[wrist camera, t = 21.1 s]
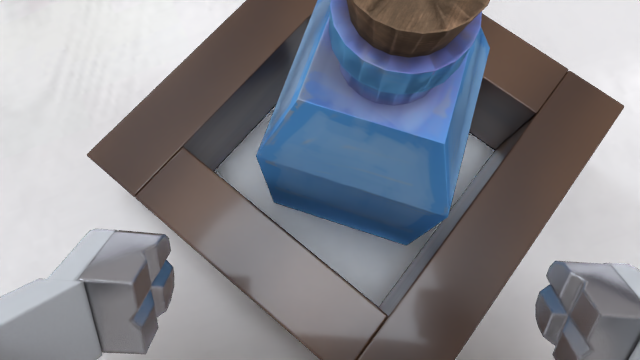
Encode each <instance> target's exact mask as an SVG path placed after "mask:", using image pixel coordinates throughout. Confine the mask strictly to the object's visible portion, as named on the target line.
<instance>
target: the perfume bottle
mask: <svg viewBox="0 0 640 360" xmlns="http://www.w3.org/2000/svg"><path fill="white" fill-rule="evenodd" d="M489 1H490V0H317V3H316V5H315V8H314V10H313V13H312V16H311V18H310V21H309V23H308V26H307V28H306V31H305V33H304V36H303V38H302V41H301V43H300V46H299V49H298V51H297V54H296V56H295V59H294V61H293V64H292V66H291V69H290V71H289V74H288V76H287V79H286V81H285V84H284V87H283V89H282V92H281V94H280V97H279V99H278V102H277V104H276V107H275V109H274V112H273V114H272V117H271V120H270V122H269V125H268V127H267V130H266V132H265V135H264V137H263V140H262V142H261V145H260V147H259V150H258V152H257V155H256V157H257V160H258V162H259V165H260V167H261V170H262V173H263V175H264V178H265V180H266V183H267V185H268V188H269V191H270V193H271V196H272V198H273V201H274V202H275V203H278V204H281V205H284V206H287V207H290V208H293V209H296V210H299V211H302V212H305V213H308V214H312V215H315V216H318V217H321V218H324V219H327V220H330V221H333V222H336V223H339V224H342V225H345V226H348V227H351V228H355V229H358V230H361V231H364V232H367V233H370V234H373V235H376V236H379V237H382V238H385V239H388V240H391V241H394V242H397V243H401V244H404V245H408V244H409V243H411V242H412V241H414V240H415V239H417V238H418V237H420V236H421V235H423V234H424V233H425V232H427V231H428V230H430V229H431V228H433V227H434V226H436V225H437V224H439V223H440V222H441V221H443V220H444V219H446V218H447V217H448V215H449V211H450V207H451V203H452V199H453V195H454V191H455V187H456V183H457V179H458V175H459V171H460V167H461V163H462V159H463V155H464V150H465V146H466V142H467V138H468V134H469V130H470V126H471V122H472V118H473V114H474V110H475V106H476V102H477V98H478V94H479V90H480V86H481V82H482V78H483V74H484V70H485V66H486V62H487V58H488V54H489V50H490V47H489V45H488V42H487V40H486V37H485V35H484V33H483V30H482V28H481V17H482V10H483V9H484V8H485V7H486V6H487V5H488V3H489Z"/></svg>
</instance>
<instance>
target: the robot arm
mask: <svg viewBox="0 0 640 360" xmlns="http://www.w3.org/2000/svg"><path fill="white" fill-rule="evenodd" d="M170 251H171V248H170V242H169V238H168V237H167V236H166V235H165V234H155V233H144V232H133V231H121V230H119V231H117V230H107V229H93V230H90V231H89V232H88V233H87V234H86V235H85V236H84V237H83V239H82V240H81V241H80V242H79V243H78V244H77V245H76V247H75V248H74V249H73V250H72V251H71V252H70V253H69V254H68V256H67V257H66V258H65V259H64V260H63V261H62V262H61V264H60V265H59V266H58V267H57V268H56V269H55V270H54V272H53V273H52V274H51V275H50V276H49V277H48V278H47V279H37V280H35V281H33V282H31V283H29V284H26V285H24V286H22V287H20V288H18V289H16V290H14V291H12V292H10V293H7V294H5V295H3V296H1V297H0V360H97V359H98V358H99V357H100V356H102V352H103V353H128V354H146V353H147V351H148V349H149V347H150V344H151V342H152V340H153V338H154V336H155V334H156V332H157V330H158V322H157V317H158V316H160V315H161V314H163V313H164V312H166V310H167V308H168V306H169V304H170V301H171V298H172V293H173V289H174V270H173V267H172V265H171V264H170V263H169V262H168V261H167V260H166V259H167V257H168V255H169V253H170ZM546 277H547V279H548V281H549V283H550V285H548V286H547V287H546V288H544V289H543V290H542V291H540V292H539V295H538V298H537V301H536V320H537V324H538V327H539V329H540V331H541V333H542V335H543V337H544V338H546V339H547V340H548V341H550V342H551V343H552V344H554V345H555V349H554V352H553V356H554V358H555V360H640V271H639V269H638V268H636V267H634V266H632V265H630V264H615V263H604V264H598V263H582V262H566V261H555V262H554V263H553V264H552V265H551V266H550V267H549V270H548V272H547V275H546Z"/></svg>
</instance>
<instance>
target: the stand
mask: <svg viewBox="0 0 640 360" xmlns="http://www.w3.org/2000/svg"><path fill="white" fill-rule="evenodd" d="M316 3H317V0H246V1H245V2H244V3H243V4H242V5H241V6H240V7H239V8H238V9H237V10H236V11H235V12H234V13H233V14H232V15H231V16H230V17H229V18H227V19H226V20H225V21H224V22H223V23H222V24H221V25H220V26H219V27H218V28H217V29H216V30H215V31H214V32H213V33H212V34H211V35H210V36H209V37H208V38H207V39H206V40H205V41H204V42H203V43H202V44H201V45H200V46H198V47H197V48H196V49H195V50H194V51H193V52H192V53H191V54H190V55H189V56H188V57H187V58H186V59H185V60H184V61H183V62H182V63H181V64H180V65H179V66H178V67H177V68H176V69H175V70H174V71H173V72H172V73H171V74H169V75H168V76H167V77H166V78H165V79H164V80H163V81H162V82H161V83H160V84H159V85H158V86H157V87H156V88H155V89H154V90H153V91H152V92H151V93H150V94H149V95H148V96H147V97H146V98H145V99H144V100H143V101H142V102H141V103H139V104H138V105H137V106H136V107H135V108H134V109H133V110H132V111H131V112H130V113H129V114H128V115H127V116H126V117H125V118H124V119H123V120H122V121H121V122H120V123H119V124H118V125H117V126H116V127H115V128H114V129H113V130H112V131H110V132H109V133H108V134H107V135H106V136H105V137H104V138H103V139H102V140H101V141H100V142H99V143H98V144H97V145H96V146H95V147H94V148H93V149H92V150H91V151H90V152H89V153H88V154H87V156H88V157H89V158H90V159H91V160H93V161H94V162H95V163H96V164H97V165H98V166H99V167H101V168H102V169H103V170H104V171H105V172H106V173H107V174H109V175H110V176H111V177H112V178H113V179H114V180H115V181H117V182H118V183H119V184H120V185H121V186H122V187H123V188H125V189H126V190H127V191H128V192H129V193H130V194H131V195H133V196H134V197H136V199H137V200H138V201H140V202H141V203H142V204H143V205H144V206H145V207H146V208H148V209H149V210H150V211H151V212H152V213H153V214H154V215H156V216H157V217H158V218H159V219H160V220H161V221H162V222H164V223H165V224H166V225H167V226H168V227H169V228H170V229H172V230H173V231H174V232H175V233H176V234H177V235H178V236H180V237H181V238H182V239H183V240H184V241H185V242H186V243H188V244H189V245H190V246H191V247H192V248H193V249H194V250H196V251H197V252H198V253H199V254H200V255H201V256H202V257H204V258H205V259H206V260H207V261H208V262H209V263H210V264H212V265H213V266H214V267H215V268H216V269H217V270H218V271H220V272H221V273H222V274H223V275H224V276H225V277H226V278H228V279H229V280H230V281H231V282H232V283H233V284H234V285H236V286H237V287H238V288H239V289H240V290H241V291H242V292H244V293H245V294H246V295H247V296H248V297H249V298H250V299H252V300H253V301H254V302H255V303H256V304H257V305H258V306H260V307H261V308H262V309H263V310H264V311H265V312H266V313H268V314H269V315H270V316H271V317H272V318H273V319H274V320H276V321H277V322H278V323H279V324H280V325H281V326H282V327H284V328H285V329H286V330H287V331H288V332H289V333H290V334H292V335H293V336H294V337H295V338H296V339H297V340H298V341H300V342H301V343H302V344H303V345H304V346H305V347H306V348H308V349H309V350H310V351H311V352H312V353H313V354H314V355H316V356H317V357H318V358H319V359H320V360H455V359H456V357H457V356H458V354H459V353H460V352H461V350H462V349H463V347H464V346H465V344H466V343H467V341H468V340H469V338H470V337H471V335H472V334H473V332H474V331H475V329H476V328H477V326H478V325H479V323H480V322H481V320H482V319H483V317H484V316H485V314H486V313H487V311H488V310H489V308H490V307H491V305H492V304H493V302H494V301H495V299H496V298H497V296H498V295H499V293H500V292H501V290H502V289H503V287H504V286H505V284H506V283H507V281H508V280H509V278H510V277H511V275H512V274H513V272H514V271H515V269H516V268H517V266H518V265H519V263H520V262H521V260H522V259H523V258H524V256H525V255H526V253H527V252H528V250H529V249H530V247H531V246H532V244H533V243H534V241H535V240H536V238H537V237H538V235H539V234H540V232H541V231H542V229H543V228H544V226H545V225H546V223H547V222H548V220H549V219H550V217H551V216H552V214H553V213H554V211H555V210H556V208H557V207H558V205H559V204H560V202H561V201H562V199H563V198H564V196H565V195H566V193H567V192H568V190H569V189H570V187H571V186H572V184H573V183H574V181H575V180H576V178H577V177H578V175H579V174H580V172H581V171H582V169H583V168H584V166H585V165H586V164H587V162H588V161H589V159H590V158H591V156H592V155H593V153H594V152H595V150H596V149H597V147H598V146H599V144H600V143H601V141H602V140H603V138H604V137H605V135H606V134H607V132H608V131H609V129H610V128H611V126H612V125H613V123H614V122H615V120H616V119H617V117H618V116H619V114H620V113H621V111H622V110H623V108H624V105H622V104H621V103H619V102H618V101H616V100H615V99H613V98H611V97H610V96H608V95H607V94H605V93H604V92H602V91H601V90H599V89H598V88H596V87H594V86H593V85H591V84H590V83H588V82H587V81H585V80H584V79H582V78H581V77H579V76H577V75H576V74H574V73H573V72H571V71H568V69H567V68H566V67H564V66H563V65H561V64H560V63H558V62H556V61H555V60H553V59H552V58H550V57H549V56H547V55H546V54H544V53H543V52H541V51H539V50H538V49H536V48H535V47H533V46H532V45H530V44H529V43H527V42H526V41H524V40H522V39H521V38H519V37H518V36H516V35H515V34H513V33H512V32H510V31H509V30H507V29H505V28H504V27H502V26H501V25H499V24H498V23H496V22H495V21H493V20H492V19H490V18H488V17H487V16H485V15H484V14H482V17H481V28H482V30H483V33H484V35H485V37H486V40H487V42H488V45H489V47H490V50H489V54H488V58H487V62H486V66H485V70H484V74H483V78H482V82H481V86H480V90H479V94H478V98H477V102H476V106H475V110H474V114H473V118H472V122H471V126H470V130H469V132H471V133H472V134H473V135H475V136H476V137H478V138H479V139H481V140H482V141H483V142H485V143H486V144H488V145H489V146H490V147H492V148H493V149H496V150H495V151H494V153H493V154H492V155H491V157H490V158H489V159H488V161H487V162H486V163H485V165H484V166H483V168H482V169H481V170H480V172H479V173H478V174H477V176H476V177H475V178H474V180H473V181H472V182H471V184H470V185H469V186H468V188H467V189H466V190H465V192H464V193H463V194H462V196H461V197H460V198H459V200H458V201H457V203H456V204H455V205H454V207H453V208H452V209H451V211H450V212H449V215H448V217H447V218H446V219H444V220H443V221H442V223H441V224H440V225H439V227H438V228H437V229H436V231H435V232H434V233H433V235H432V236H431V238H430V239H429V240H428V242H427V243H426V244H425V246H424V247H423V248H422V250H421V251H420V252H419V254H418V255H417V256H416V258H415V259H414V260H413V262H412V263H411V264H410V266H409V267H408V268H407V270H406V271H405V273H404V274H403V275H402V277H401V278H400V279H399V281H398V282H397V283H396V285H395V286H394V287H393V289H392V290H391V291H390V293H389V294H388V295H387V297H386V298H385V299H384V301H383V302H382V304H381V305H380V306H379V307H377V306H376V305H375V304H374V303H373V302H371V301H370V300H369V299H368V298H367V297H365V296H364V295H363V294H362V293H361V292H359V291H358V290H357V289H356V288H354V287H353V286H352V285H351V284H350V283H348V282H347V281H346V280H345V279H344V278H342V277H341V276H340V275H339V274H337V273H336V272H335V271H334V270H333V269H331V268H330V267H329V266H328V265H327V264H325V263H324V262H323V261H322V260H320V259H319V258H318V257H317V256H316V255H314V254H313V253H312V252H311V251H310V250H308V249H307V248H306V247H305V246H303V245H302V244H301V243H300V242H299V241H297V240H296V239H295V238H294V237H293V236H291V235H290V234H289V233H288V232H286V231H285V230H284V229H283V228H282V227H280V226H279V225H278V224H277V223H276V222H274V221H273V220H272V219H271V218H270V217H268V216H267V215H266V214H265V213H263V212H262V211H261V210H260V209H259V208H257V207H256V206H255V205H254V204H253V203H251V202H250V201H249V200H248V199H246V198H245V197H244V196H243V195H242V194H240V193H239V192H238V191H237V190H236V189H234V188H233V187H232V186H231V185H229V184H228V183H227V182H226V181H225V180H223V179H222V178H221V177H220V176H219V175H217V174H216V173H215V172H214V170H215V169H216V168H217V167H218V166H219V165H220V163H221V162H222V161H223V160H224V159H225V158H226V157H227V156H228V155H229V154H230V153H231V152H232V151H233V149H234V148H235V147H236V146H237V145H238V144H239V143H240V142H241V141H242V140H243V139H244V138H245V137H246V136H247V134H248V133H249V132H250V131H251V130H252V129H253V128H254V127H255V126H256V125H257V124H258V123H259V122H260V121H261V119H262V118H263V117H264V116H265V115H266V114H267V113H268V112H269V111H270V110H271V109H272V108H273V107H274V106H275V104H276V103H277V102H278V99H279V97H280V94H281V92H282V89H283V87H284V84H285V81H286V79H287V76H288V74H289V71H290V69H291V66H292V64H293V61H294V59H295V56H296V54H297V51H298V49H299V46H300V43H301V41H302V38H303V36H304V33H305V31H306V28H307V26H308V23H309V21H310V18H311V16H312V13H313V10H314V8H315V5H316Z"/></svg>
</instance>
